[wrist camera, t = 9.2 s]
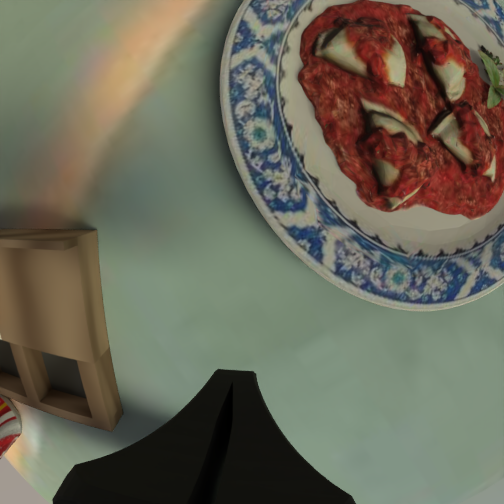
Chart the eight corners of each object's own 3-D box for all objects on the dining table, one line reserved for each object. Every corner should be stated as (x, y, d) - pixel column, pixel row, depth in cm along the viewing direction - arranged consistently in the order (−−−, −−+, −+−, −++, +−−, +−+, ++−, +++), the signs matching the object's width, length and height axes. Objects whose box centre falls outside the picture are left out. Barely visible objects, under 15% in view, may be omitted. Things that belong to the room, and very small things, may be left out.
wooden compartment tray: (97, 230, 19) (63, 241, 15) (123, 413, 22) (105, 444, 18) (-32, 228, 20) (-63, 237, 16) (0, 375, 23) (-22, 395, 19)
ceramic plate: (266, 332, 20) (266, 355, 18) (198, -31, 15) (189, -54, 12) (551, 261, 18) (572, 270, 15) (494, -17, 13) (510, -29, 10)
